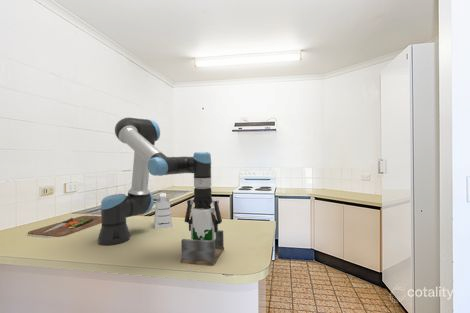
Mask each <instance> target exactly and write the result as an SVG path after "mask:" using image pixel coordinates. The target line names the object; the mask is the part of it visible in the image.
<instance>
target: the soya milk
mask: <svg viewBox="0 0 470 313" xmlns="http://www.w3.org/2000/svg"><path fill="white" fill-rule="evenodd" d="M195 207H196V205H195V204H194V207H192V209H191V214H190V215H191V216H192V219H193V239H192V240H209V241H213V240H212V225H214V223H213V221H212V216H211V213H212V214H213V215H215V213H216V212H215V208H214V206H211V208H210V209H204V208H200V205H199V207H198V209H195Z"/></svg>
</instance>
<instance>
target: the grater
mask: <svg viewBox="0 0 470 313" xmlns="http://www.w3.org/2000/svg"><path fill="white" fill-rule="evenodd" d="M155 201H156V202H155V213H154V223H153V225H154V226H155V227H154V226H153V227H154V230H158V229H159V228H161V229H167V228H168V227H169V228H173V226H174V224H173V218H172V211H171V204H170V200H169V199H168V198H167V194H166V193H165V192H163V193H159V198H158V199H157V200H155ZM161 223H164V224H161ZM159 230H160V229H159Z"/></svg>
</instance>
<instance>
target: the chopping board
mask: <svg viewBox="0 0 470 313" xmlns="http://www.w3.org/2000/svg"><path fill="white" fill-rule="evenodd" d="M100 224H102V220H101V215H80V216H77V217H74V218H73V217H70V218H69V219H67V220H64V221H60V222H58V223H54V224H49V225H47V226H42V227H39V228H35V229H32V230H30V231H28V232H27V237H34V238H45V239H46V238H47V239H51V238H52V237H56V238H60V237H66V236H69V235H71V234H75V233H77V232H80V231H83V230H86V229H89V228H92V227H94V226H95V227H96V226H97V225H100Z"/></svg>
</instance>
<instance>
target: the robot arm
mask: <svg viewBox="0 0 470 313" xmlns="http://www.w3.org/2000/svg"><path fill="white" fill-rule="evenodd" d="M160 129H161V128H160V126H159V125H158V123H157V122H156V120H152V119H144V118H135V117H123V118H122V119H120V120H118V121H117V123H116V124H115V126H114V134H115V136H116V138H117V140H119V141H120V142H121V143H123V144H125V145H127V146H128V147H130V148H131V149H132V150H133V151H134V152H133V153H134V154H133V164H132V166H133V167H132V176H131V188H129V190H128V191H127V195H126V194H125V193H118V194H116V193H115V194H110V195H107V196H105V197H104V198H102V200H101V203H100V210H101V211H100V212H101V214H100V216H101V220H102V223H101V228H100V231H99V234H98V237H97V244H99V245H102V246H111V245H117V244H121V243H125V242H128V241H129V240H130V239H131V232H130V230H129V228H128V225H127V218H131V217H135V216H141V215H145V214H147V213H149V212H150V211H151V210H152V209H153V207H154V202H155V201H154V196H153V194H152V193H151V191H150V190H149V189H148V187H149V178H150V175H151V176H159V177H162V176H168V175H179V174H180V175H181V174H193V187H194V188H193V198H192V199H191V198H190V199H188V200H187V201H186V202H187V207H186V212H185V216H184V223H186V224H187V223H188V230H189V232H190V239H192V240H193V219H192V214H191V209H192V208H193V205H194V207H195V205H196V207H195V209H198V207H199V205H200V208H204V209H210V208H211V207H212V206H213V207H214V208H215V212H214V213H215V214H214V215H213V214H212V213H211V216H212V221H213V223H214V225H212V240H213V241H214V240H215V239H216V232H217V231H218V230H219V225H220V224H221V223H222V222H223V220H222V216H221V210H220V206H219V203H220V201H219V199H216V200H215V199H213V198H212V157H211V153H210V152H209V151H207V152H205V151H204V152H203V151H200V152H196V151H195V152H194V153H193V156H166V155H165V154H163V152H162V151H160V150H159V149H158V148H157V147H156V146H155V143H156V141H158V140H159V139H160V137H161V130H160Z"/></svg>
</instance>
